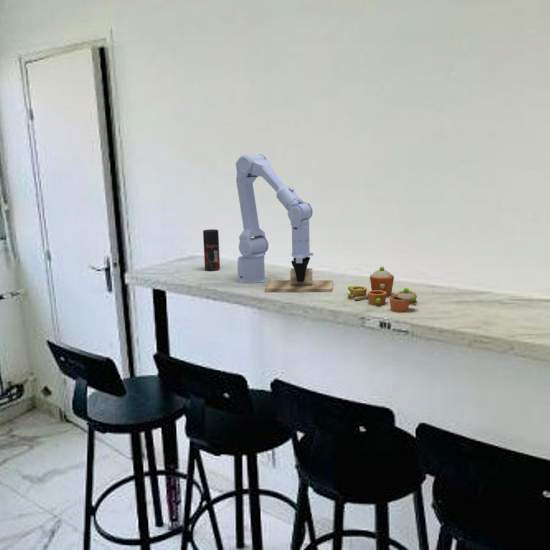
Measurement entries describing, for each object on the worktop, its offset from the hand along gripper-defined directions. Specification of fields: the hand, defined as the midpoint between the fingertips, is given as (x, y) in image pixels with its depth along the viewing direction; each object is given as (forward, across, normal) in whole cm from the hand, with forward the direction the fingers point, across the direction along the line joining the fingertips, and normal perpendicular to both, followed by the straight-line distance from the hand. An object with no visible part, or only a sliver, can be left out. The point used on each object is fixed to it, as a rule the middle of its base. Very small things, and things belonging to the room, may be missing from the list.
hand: (301, 280), depth 201 cm
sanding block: (+1, 0, 0) cm, 1 cm away
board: (+3, 0, +1) cm, 3 cm away
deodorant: (+3, +31, +38) cm, 49 cm away
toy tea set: (+3, -18, -27) cm, 33 cm away
